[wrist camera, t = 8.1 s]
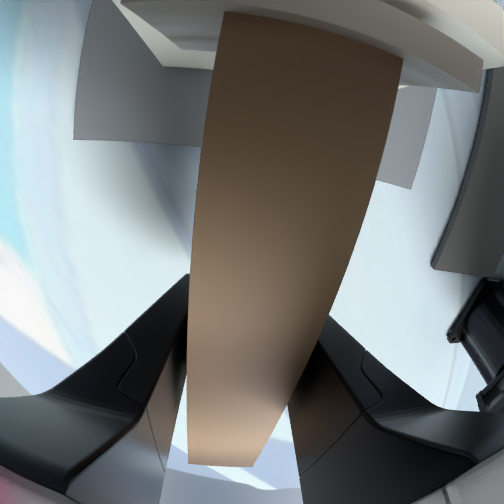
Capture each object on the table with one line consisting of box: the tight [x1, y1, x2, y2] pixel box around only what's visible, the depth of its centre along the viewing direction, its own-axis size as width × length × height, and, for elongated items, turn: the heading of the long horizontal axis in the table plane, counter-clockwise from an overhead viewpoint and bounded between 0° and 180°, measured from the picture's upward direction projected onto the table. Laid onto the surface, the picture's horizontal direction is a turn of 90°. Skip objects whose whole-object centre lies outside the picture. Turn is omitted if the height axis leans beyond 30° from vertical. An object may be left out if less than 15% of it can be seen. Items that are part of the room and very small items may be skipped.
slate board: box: [73, 0, 437, 190], centre depth 9 cm, size 14×16×1 cm
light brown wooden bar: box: [120, 0, 484, 467], centre depth 7 cm, size 14×5×4 cm, turn 170°
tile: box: [112, 0, 504, 89], centre depth 6 cm, size 2×8×8 cm, turn 79°
